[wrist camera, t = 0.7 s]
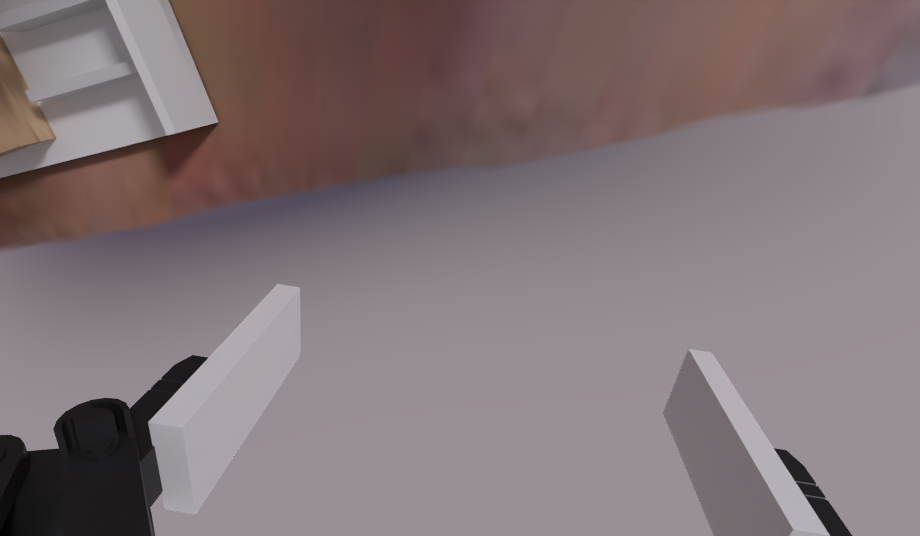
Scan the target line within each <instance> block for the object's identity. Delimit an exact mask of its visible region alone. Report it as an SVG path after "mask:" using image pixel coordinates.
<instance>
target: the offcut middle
mask: <svg viewBox="0 0 920 536" xmlns="http://www.w3.org/2000/svg"><path fill="white" fill-rule="evenodd" d="M39 142H41V141H40V140H39V138H38V137H37V135H36V133H35V132H34V130H33V129H32V127H31V125H30V124H29V122H28V121H27V119H26V117H25V116H24V114H23V113H22V111H21V109H20V108H19V106H18V104H17V103H16V101H15V100H14V98H13V96H12V95H11V93H10V92H9V90H8V88H7V87H6V85H5V84H4V82H3V80H2V79H1V77H0V157H1V156H3V155H6V154H9V153H11V152H14V151H17V150H20V149H22V148H25V147H28V146H30V145H33V144H36V143H39Z"/></svg>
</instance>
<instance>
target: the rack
mask: <svg viewBox="0 0 920 536" xmlns="http://www.w3.org/2000/svg"><path fill="white" fill-rule="evenodd" d="M0 35H1V37H2V39H3V40H4V42H5V44H6V46H7V48H8V50H9V52H10V53H11V55H12V57H13V59H14V61H15V63H16V64H17V66H18V68H19V70H20V72H21V74H22V76H23V77H24V79H25V81H26V83H27V85H28V87H29V88H30V89H29V90H26V91H25V93H26V95H27V96H28V98H29V100H30V102H37V103H38V105H39V107H40V109H41V111H42V112H43V114H44V116H45V118H46V120H47V122H48V123H49V125H50V127H51V129H52V131H53V133H54V135H55V136H56V139H52V140H49V141H45V142H41V143H37V144H34V145H30V146H28V147H25V148H22V149H20V150H17V151H14V152H11V153H9V154H6V155H3V156H1V157H0V178H2V177H6V176H10V175H14V174H18V173H22V172H26V171H30V170H34V169H38V168H41V167H45V166H49V165H53V164H57V163H61V162H65V161H69V160H73V159H77V158H81V157H85V156H88V155H92V154H96V153H100V152H104V151H108V150H112V149H116V148H120V147H124V146H128V145H132V144H135V143H139V142H143V141H147V140H151V139H155V138H159V137H163V136H167V135H171V134H175V133H179V132H183V131H187V130H191V129H195V128H198V127H202V126H206V125H210V124H214V123H218V120H217V117H216V115H215V112H214V110H213V108H212V105H211V103H210V100H209V98H208V95H207V93H206V91H205V88H204V86H203V83H202V81H201V78H200V76H199V74H198V71H197V69H196V66H195V64H194V61H193V59H192V57H191V54H190V52H189V49H188V47H187V44H186V42H185V40H184V37H183V35H182V32H181V30H180V27H179V25H178V23H177V20H176V18H175V15H174V13H173V10H172V8H171V6H170V3H169V1H168V0H0Z"/></svg>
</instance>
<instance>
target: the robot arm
mask: <svg viewBox="0 0 920 536" xmlns="http://www.w3.org/2000/svg"><path fill="white" fill-rule="evenodd" d="M300 336H301V334H300V288H299V287H293V286H287V285H281V284H277V285H276V286H275V288H273V290H272V291H271V292H270V293H269V294H268V295H267V296H266V297H265V298H264V299H263V300H262V301H261V302H260V303H259V305H258V306H257V307H256V308H255V309H254V310H253V311H252V312H251V313H250V314H249V315H248V316H247V317H246V318H245V319H244V320H243V322H242V323H241V324H240V325H239V326H238V327H237V328H236V329H235V330H234V331H233V332H232V333H231V334H230V335H229V337H228V338H227V339H226V340H225V341H224V342H223V343H222V344H221V345H220V346H219V347H218V348H217V349H216V350H215V352H213V354H212V355H211V356H210V357H209V358H206V357H200V356H194V355H192V356H191V357H188V358H187V359H185V360H183V361H181V362H179V363H177V364H175V365H174V366H173V367H172V368H171V369H170V370H169V371H168V372H167V373H166V374H165V375H164V376H163V377H162V379H161V380H159V381H158V382H157V383H156V384H155V385H154V386H153V387H152V388H151V390H148V391H147V392H146V393H145V394H144V395H143V396H142V397H141V398H140V399H139V400H138V401H137V402H136V403H135V404H134V405H133V406H132V407H131V408H130V409H129V407H128V406H127V404H126V403H125V402H123V401H121V400H119V399H112V398H102V399H96V400H90V401H87V402H85V403H82V404H79V405H77V406H75V407H73V408H72V409H70V410H68V411H66V412H65V413H64V414H63V415H62V416H61V417H60V418H59V419H58V420H57V422H56V424H55V427H54V432H55V436H56V439H57V442H58V445H59V449H49V450H37V451H27V450H26V447H25V444H24V443H23V441H22V440H21V439H20V438H18V437H15V436H12V435H0V536H155V533H154V526H153V521H152V514H151V510H150V507H151V506H152V504H153V503H154V502H155V501H156V499H157V498H158V497H159V495H160V494H161V493H162V498H163V503H164V509H166V510H171V511H177V512H183V513H189V514H196V513H197V512H198V510H199V509H200V507H201V506H202V504H203V503H204V501H205V499H206V498H207V496H208V495H209V493H210V492H211V490H212V489H213V487H214V486H215V484H216V483H217V481H218V479H219V478H220V477H221V475H222V474H223V472H224V471H225V469H226V467H227V466H228V464H229V463H230V461H231V460H232V458H233V457H234V455H235V454H236V452H237V451H238V449H239V448H240V446H241V445H242V443H243V442H244V440H245V439H246V437H247V435H248V434H249V433H250V431H251V429H252V428H253V426H254V425H255V423H256V422H257V420H258V419H259V417H260V416H261V414H262V413H263V411H264V410H265V408H266V407H267V405H268V404H269V402H270V401H271V399H272V397H273V396H274V394H275V393H276V391H277V390H278V388H279V387H280V385H281V384H282V382H283V381H284V379H285V378H286V376H287V375H288V373H289V372H290V370H291V369H292V367H293V365H294V364H295V362H296V361H297V359H298V358H299V356H300V355H301V337H300ZM663 414H664V416H665V419H666V421H667V424H668V426H669V428H670V431H671V433H672V436H673V438H674V440H675V443H676V445H677V448H678V450H679V453H680V455H681V457H682V460H683V462H684V465H685V467H686V469H687V472H688V474H689V477H690V479H691V482H692V484H693V486H694V489H695V491H696V494H697V496H698V498H699V501H700V503H701V506H702V508H703V511H704V513H705V516H706V518H707V520H708V523H709V525H710V528H711V530H712V532H713V535H714V536H852V535H851V533H850V532H849V530H848V529H847V528H846V527H845V525H844V523H843V522H842V520H841V519H840V517H839V516H838V515H837V513H836V512H835V510H834V509H833V507H832V506H831V505H830V503H829V502H828V501H827V500H825V496H824V494H823V493H822V492H821V490H820V489H819V487H818V486H816V483H815V481H814V480H813V478H812V477H811V476H810V474H809V473H808V472H807V470H806V468H805V467H804V466H803V465H802V464H801V463H800V462H799V461H798V460H797V459H795V458H794V457H793V456H792V455H791V454H790V453H789V452H787V451H786V450H780V449H775V448H773V447H772V445H771V443H770V442H769V440H768V439H767V437H766V436H765V434H764V433H763V431H762V430H761V428H760V426H759V425H758V424H757V422H756V420H755V419H754V417H753V416H752V414H751V413H750V411H749V409H748V408H747V406H746V405H745V403H744V402H743V400H742V399H741V397H740V396H739V394H738V393H737V391H736V389H735V388H734V386H733V385H732V383H731V382H730V380H729V379H728V377H727V375H726V374H725V372H724V371H723V369H722V368H721V366H720V365H719V363H718V362H717V360H716V359H715V357H714V355H713V354H712V353H711V352H705V351H698V350H692V349H688V351H687V354H686V356H685V359H684V361H683V364H682V367H681V369H680V372H679V374H678V377H677V379H676V382H675V384H674V387H673V389H672V392H671V394H670V397H669V399H668V402H667V404H666V407H665V409H664V412H663Z"/></svg>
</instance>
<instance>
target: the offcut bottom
mask: <svg viewBox="0 0 920 536" xmlns="http://www.w3.org/2000/svg"><path fill="white" fill-rule="evenodd" d="M0 77H1V79H2V80H3V82H4V84H5V85H6V87H7V88H8V90H9V92H10V93H11V95H12V96H13V98H14V100H15V101H16V103H17V104H18V106H19V108H20V109H21V111H22V113H23V114H24V116H25V117H26V119H27V121H28V122H29V124H30V125H31V127H32V129H33V130H34V132H35V133H36V135H37V137H38V138H39V140H40V141H41V142H45V141H49V140H52V139H56V136H55V135H54V133H53V131H52V129H51V127H50V125H49V123H48V122H47V120H46V118H45V116H44V114H43V112H42V111H41V109H40V107H39V105H38V103H37V102H30V100H29V98H28V96H27V95H26V93H25V91H26V90H29V89H30V88H29V87H28V85H27V83H26V81H25V79H24V77H23V76H22V74H21V72H20V70H19V68H18V66H17V64H16V63H15V61H14V59H13V57H12V55H11V53H10V52H9V50H8V48H7V46H6V44H5V42H4V40H3V39H2V37H1V35H0ZM41 142H39V143H41ZM36 144H37V143H36ZM33 145H34V144H33Z"/></svg>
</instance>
